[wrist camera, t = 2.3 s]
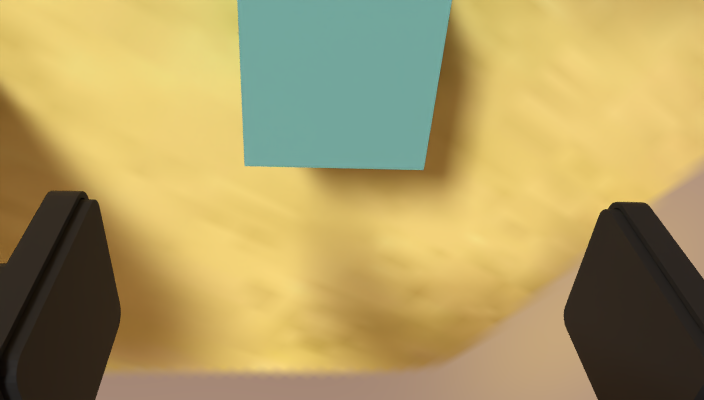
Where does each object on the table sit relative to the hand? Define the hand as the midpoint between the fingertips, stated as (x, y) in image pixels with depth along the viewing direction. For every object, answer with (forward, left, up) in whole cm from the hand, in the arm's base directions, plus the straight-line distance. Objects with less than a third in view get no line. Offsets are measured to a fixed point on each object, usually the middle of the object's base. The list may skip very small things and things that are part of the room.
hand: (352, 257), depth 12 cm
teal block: (-1, 0, -11) cm, 11 cm away
